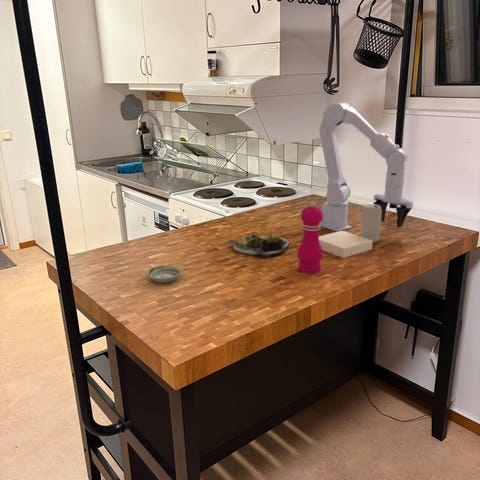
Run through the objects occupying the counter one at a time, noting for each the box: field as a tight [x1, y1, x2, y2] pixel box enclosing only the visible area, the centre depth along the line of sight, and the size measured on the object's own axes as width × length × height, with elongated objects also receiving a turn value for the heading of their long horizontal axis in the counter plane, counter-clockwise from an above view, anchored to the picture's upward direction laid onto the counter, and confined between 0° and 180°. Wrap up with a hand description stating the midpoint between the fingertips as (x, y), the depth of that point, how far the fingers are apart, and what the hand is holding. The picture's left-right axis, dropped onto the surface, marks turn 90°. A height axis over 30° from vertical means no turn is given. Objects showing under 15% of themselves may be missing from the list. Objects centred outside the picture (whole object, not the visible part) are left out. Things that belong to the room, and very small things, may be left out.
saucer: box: [145, 265, 183, 284], centre depth 129 cm, size 10×10×2 cm
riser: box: [318, 230, 373, 259], centre depth 152 cm, size 13×13×3 cm
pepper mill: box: [296, 200, 324, 274], centre depth 132 cm, size 7×7×20 cm
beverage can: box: [359, 203, 382, 244], centre depth 158 cm, size 6×6×12 cm
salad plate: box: [227, 234, 291, 258], centre depth 153 cm, size 19×18×5 cm
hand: (390, 224), depth 164 cm, fingers open, 7 cm apart
